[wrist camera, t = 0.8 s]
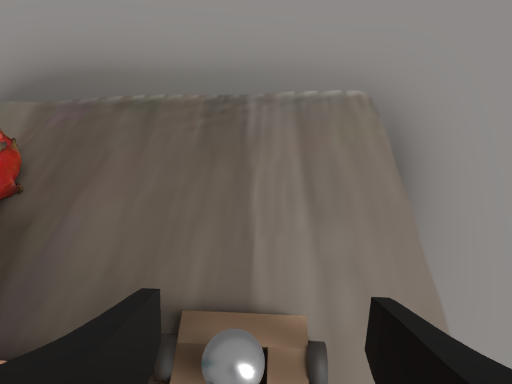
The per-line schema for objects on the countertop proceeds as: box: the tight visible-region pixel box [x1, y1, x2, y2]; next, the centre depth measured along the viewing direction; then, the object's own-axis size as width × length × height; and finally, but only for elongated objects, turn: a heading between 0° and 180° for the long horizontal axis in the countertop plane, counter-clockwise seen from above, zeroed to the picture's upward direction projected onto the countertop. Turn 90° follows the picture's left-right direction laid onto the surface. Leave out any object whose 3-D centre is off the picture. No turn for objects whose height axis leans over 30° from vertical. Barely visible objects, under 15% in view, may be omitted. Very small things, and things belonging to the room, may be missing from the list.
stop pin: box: [202, 329, 265, 384], centre depth 22 cm, size 3×3×8 cm
